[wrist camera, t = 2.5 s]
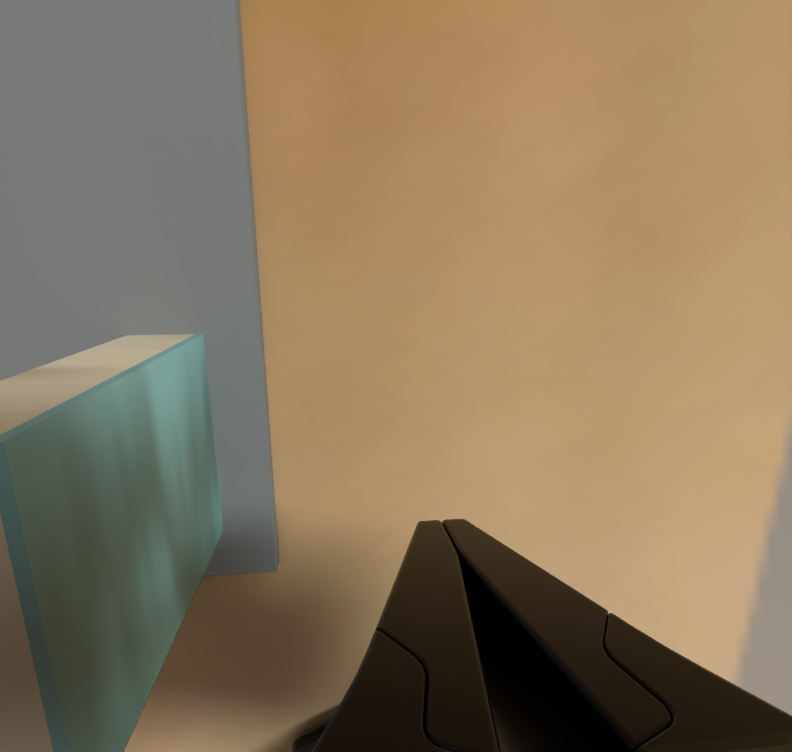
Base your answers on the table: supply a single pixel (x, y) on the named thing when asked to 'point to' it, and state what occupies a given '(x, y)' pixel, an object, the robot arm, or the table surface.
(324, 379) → the table surface
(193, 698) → the table surface
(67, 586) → the tile
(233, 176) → the mat
